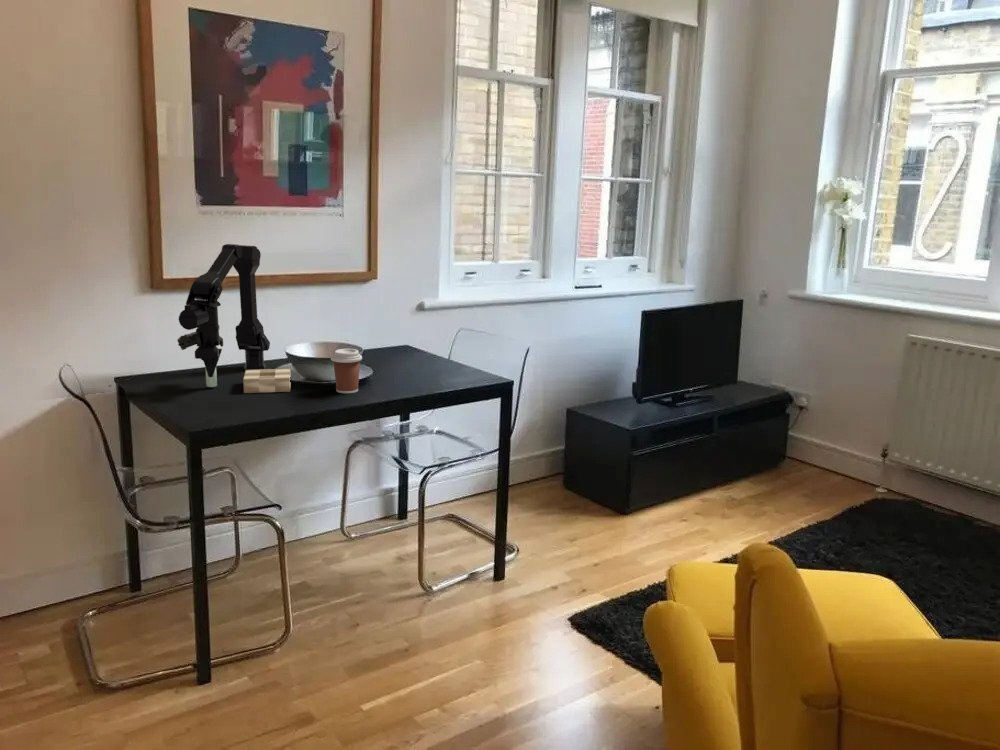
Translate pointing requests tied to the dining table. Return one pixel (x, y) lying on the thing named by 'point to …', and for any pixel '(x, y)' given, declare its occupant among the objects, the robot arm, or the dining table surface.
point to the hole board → (267, 380)
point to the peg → (211, 379)
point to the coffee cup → (346, 370)
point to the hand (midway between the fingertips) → (211, 375)
